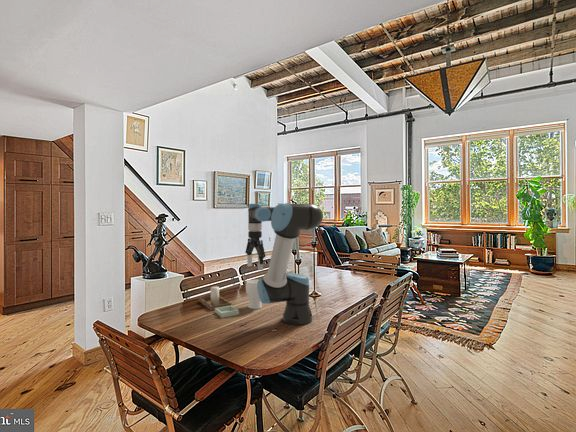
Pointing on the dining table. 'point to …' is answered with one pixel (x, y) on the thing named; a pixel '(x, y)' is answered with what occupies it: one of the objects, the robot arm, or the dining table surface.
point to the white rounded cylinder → (214, 295)
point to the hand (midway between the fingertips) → (255, 268)
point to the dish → (227, 311)
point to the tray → (222, 303)
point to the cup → (253, 294)
